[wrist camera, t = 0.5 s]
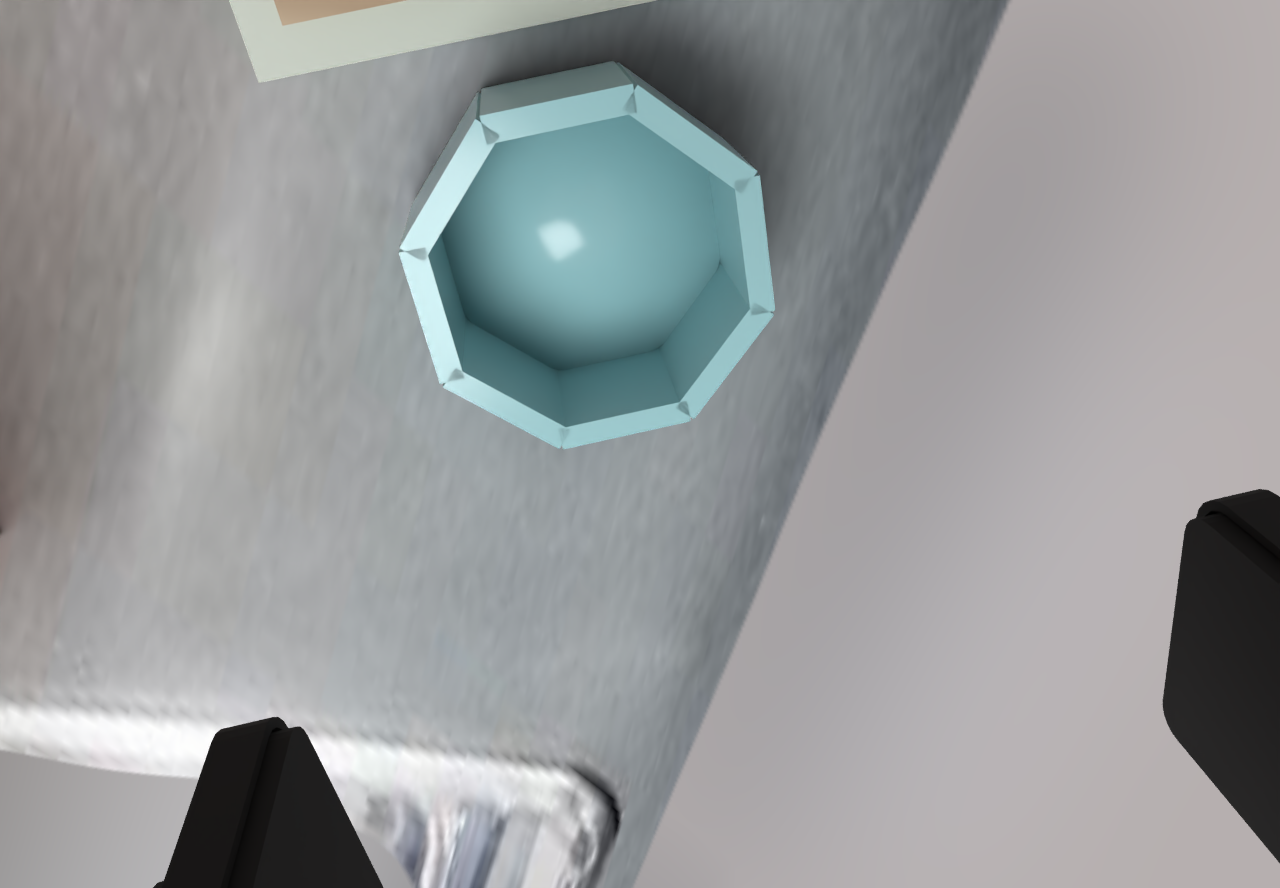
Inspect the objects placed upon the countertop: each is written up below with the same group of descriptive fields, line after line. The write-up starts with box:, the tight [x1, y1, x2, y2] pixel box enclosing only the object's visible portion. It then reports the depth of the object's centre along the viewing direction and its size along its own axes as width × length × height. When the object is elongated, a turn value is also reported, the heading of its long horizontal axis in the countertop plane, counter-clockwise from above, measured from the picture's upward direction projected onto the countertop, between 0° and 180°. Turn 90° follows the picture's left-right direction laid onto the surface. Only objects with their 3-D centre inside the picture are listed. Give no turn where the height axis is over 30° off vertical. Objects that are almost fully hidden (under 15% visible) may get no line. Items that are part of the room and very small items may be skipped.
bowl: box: [399, 61, 775, 449], centre depth 32 cm, size 11×11×6 cm
